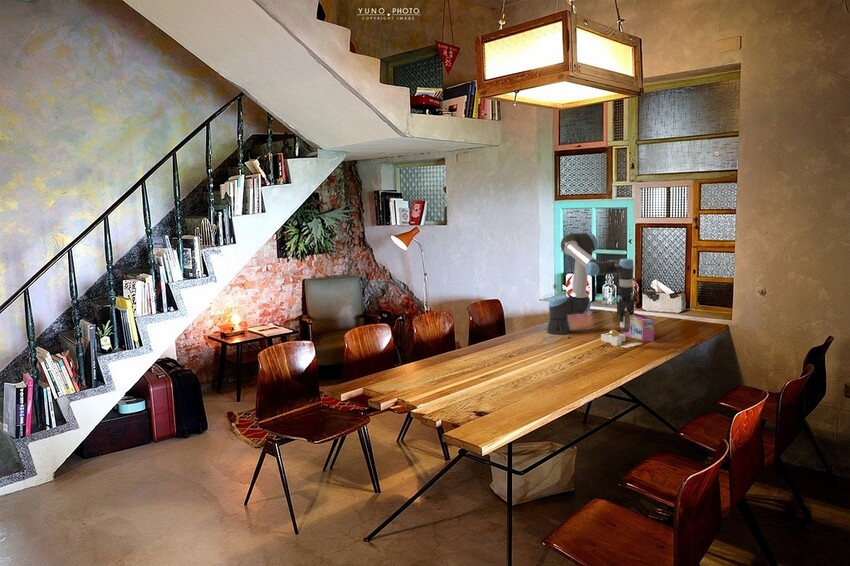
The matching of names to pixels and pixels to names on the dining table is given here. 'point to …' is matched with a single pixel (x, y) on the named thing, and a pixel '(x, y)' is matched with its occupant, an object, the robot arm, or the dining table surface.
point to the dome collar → (608, 338)
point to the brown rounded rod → (626, 321)
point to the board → (631, 344)
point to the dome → (613, 333)
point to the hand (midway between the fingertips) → (625, 326)
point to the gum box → (641, 328)
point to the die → (616, 341)
